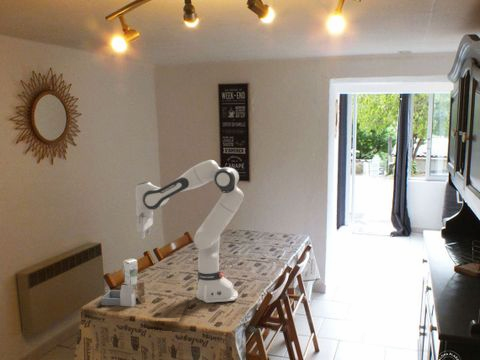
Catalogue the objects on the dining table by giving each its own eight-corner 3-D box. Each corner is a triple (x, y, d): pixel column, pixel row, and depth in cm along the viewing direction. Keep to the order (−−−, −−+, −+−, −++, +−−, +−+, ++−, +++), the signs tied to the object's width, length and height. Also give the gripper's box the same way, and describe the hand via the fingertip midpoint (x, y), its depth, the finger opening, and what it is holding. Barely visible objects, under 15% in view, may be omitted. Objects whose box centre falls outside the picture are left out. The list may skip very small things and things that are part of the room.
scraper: (142, 297, 226) (141, 279, 225) (145, 301, 219) (145, 283, 218) (136, 298, 224) (135, 280, 223) (140, 303, 218) (139, 284, 217)
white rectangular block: (132, 306, 213) (131, 287, 212) (120, 305, 215) (119, 286, 214) (135, 303, 217) (135, 285, 216) (124, 302, 219) (123, 284, 218)
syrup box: (132, 281, 250) (131, 258, 249) (138, 283, 247) (137, 259, 245) (124, 284, 246) (123, 260, 245) (130, 286, 242) (129, 262, 241)
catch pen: (127, 296, 227) (127, 290, 227) (120, 305, 216) (120, 298, 215) (109, 296, 228) (109, 290, 227) (101, 305, 216) (101, 298, 216)
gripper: (144, 215, 220) (146, 241, 221) (154, 208, 240) (155, 232, 241) (133, 215, 220) (134, 241, 221) (143, 208, 240) (145, 232, 242)
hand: (145, 236), depth 231 cm, fingers open, 8 cm apart
